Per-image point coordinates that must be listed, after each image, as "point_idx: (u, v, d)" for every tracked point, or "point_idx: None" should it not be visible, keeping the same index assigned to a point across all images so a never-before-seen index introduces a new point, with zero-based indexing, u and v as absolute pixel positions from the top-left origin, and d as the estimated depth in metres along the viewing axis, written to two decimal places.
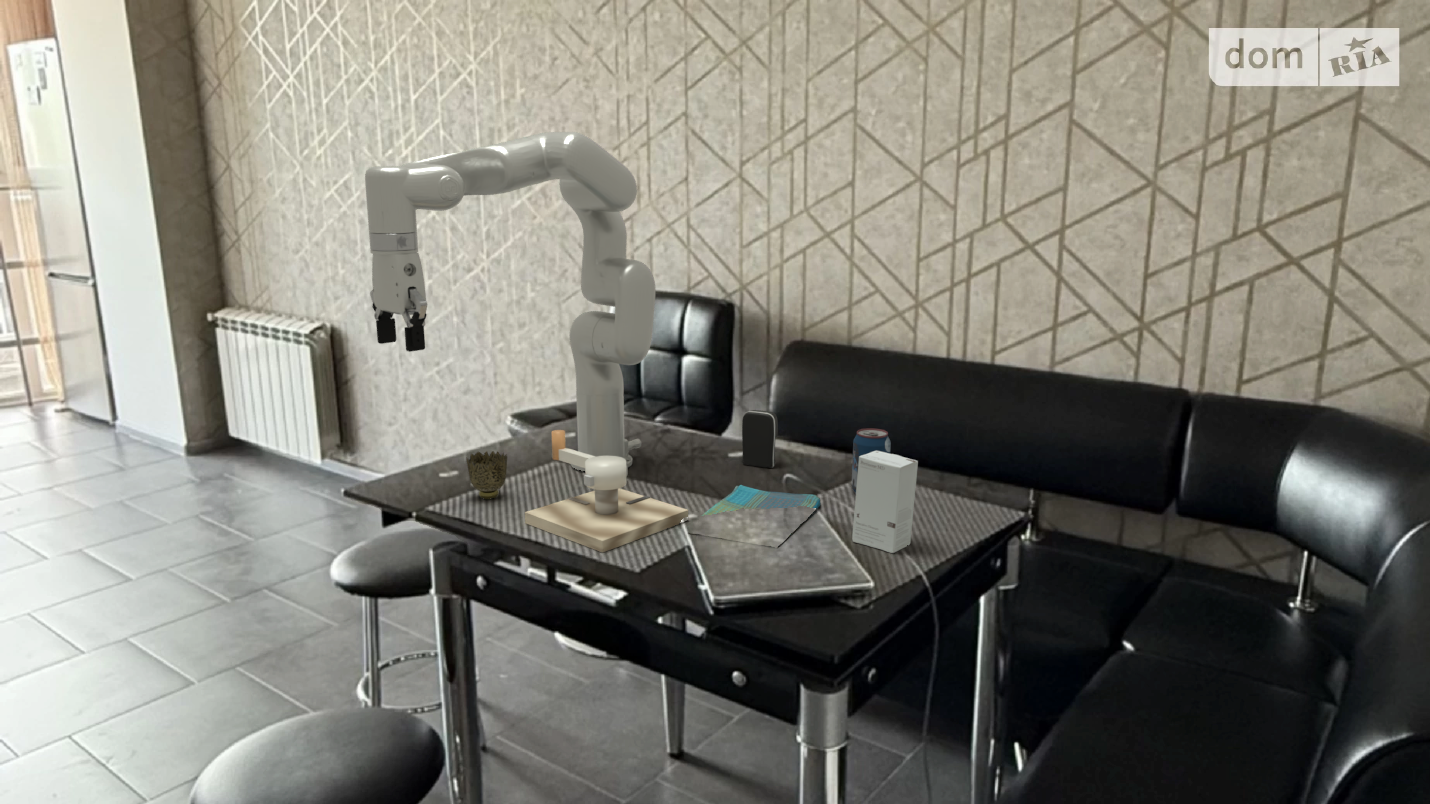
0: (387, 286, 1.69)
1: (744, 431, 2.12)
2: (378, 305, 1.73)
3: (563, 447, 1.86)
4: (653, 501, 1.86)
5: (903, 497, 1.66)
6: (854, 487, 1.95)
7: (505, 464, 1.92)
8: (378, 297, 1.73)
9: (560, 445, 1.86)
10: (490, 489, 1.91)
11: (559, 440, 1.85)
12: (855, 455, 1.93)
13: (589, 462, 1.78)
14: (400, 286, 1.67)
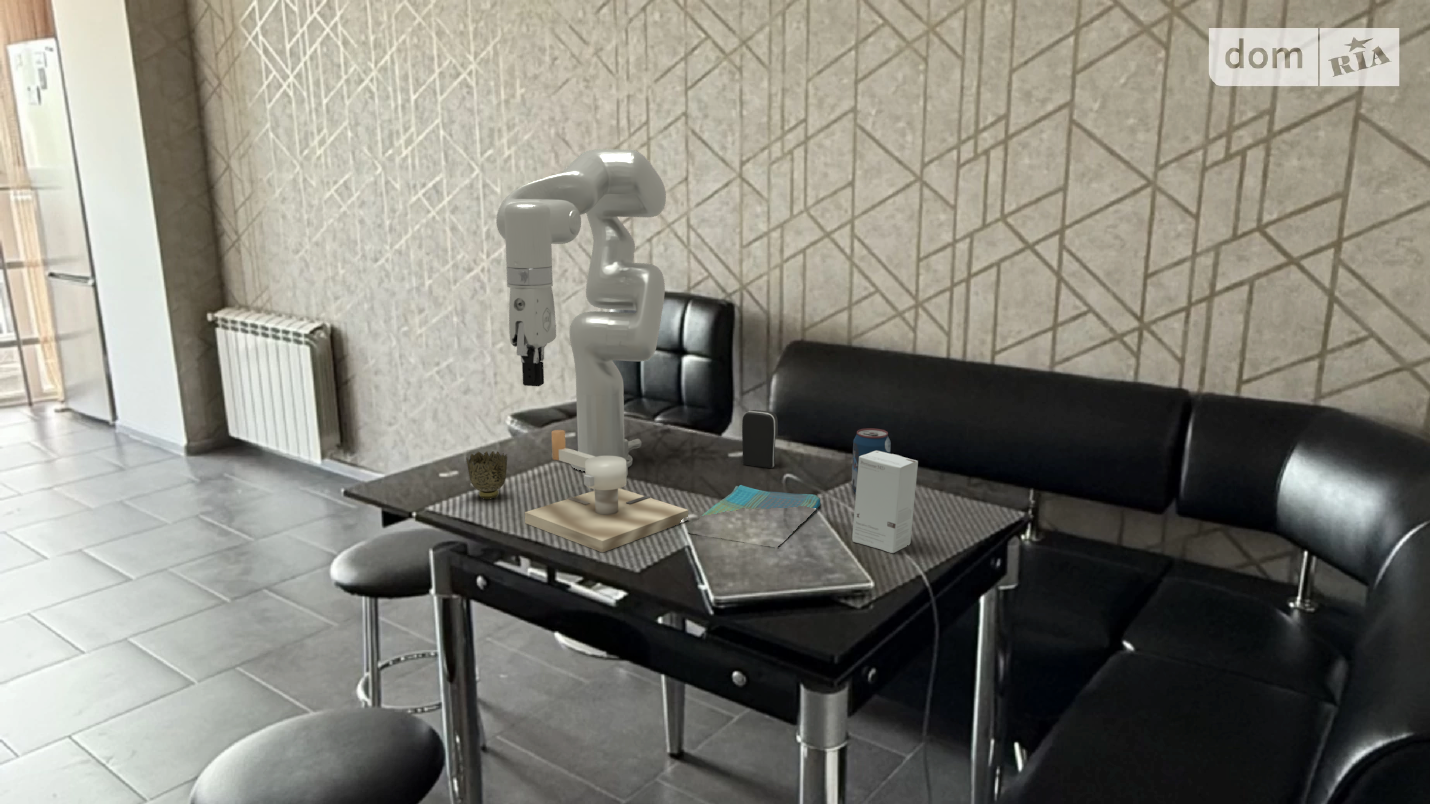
0: None
1: (744, 431, 2.12)
2: None
3: (563, 447, 1.86)
4: (653, 501, 1.86)
5: (903, 497, 1.66)
6: (854, 487, 1.95)
7: (505, 464, 1.92)
8: None
9: (560, 445, 1.86)
10: (490, 489, 1.91)
11: (559, 440, 1.85)
12: (855, 455, 1.93)
13: (589, 462, 1.78)
14: (509, 319, 1.71)
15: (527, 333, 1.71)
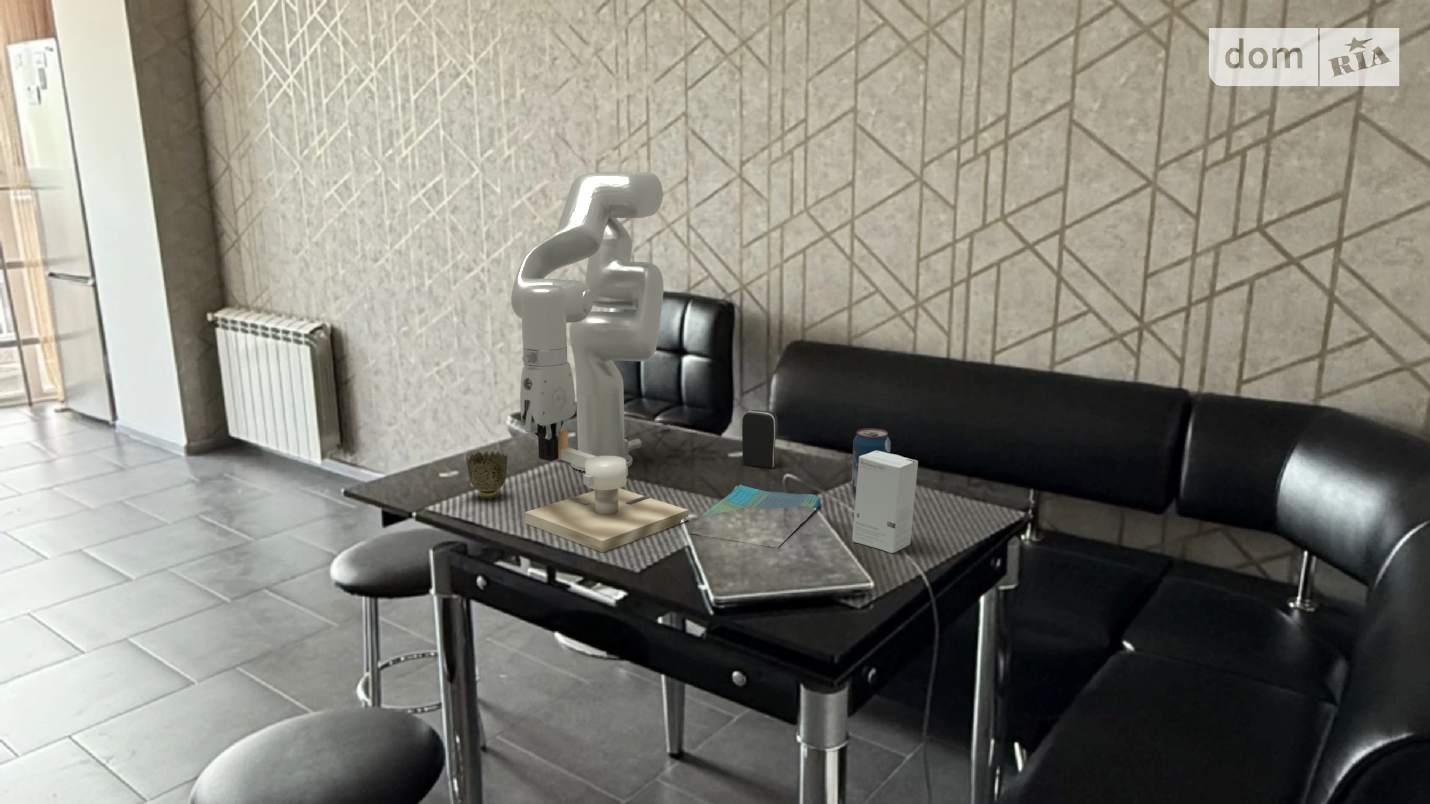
0: None
1: (744, 431, 2.12)
2: None
3: (565, 446, 1.86)
4: (653, 501, 1.86)
5: (903, 497, 1.66)
6: (854, 487, 1.95)
7: (505, 464, 1.92)
8: None
9: (562, 445, 1.86)
10: (490, 489, 1.91)
11: (561, 440, 1.86)
12: (855, 455, 1.93)
13: (589, 462, 1.78)
14: (520, 397, 1.78)
15: (533, 412, 1.77)
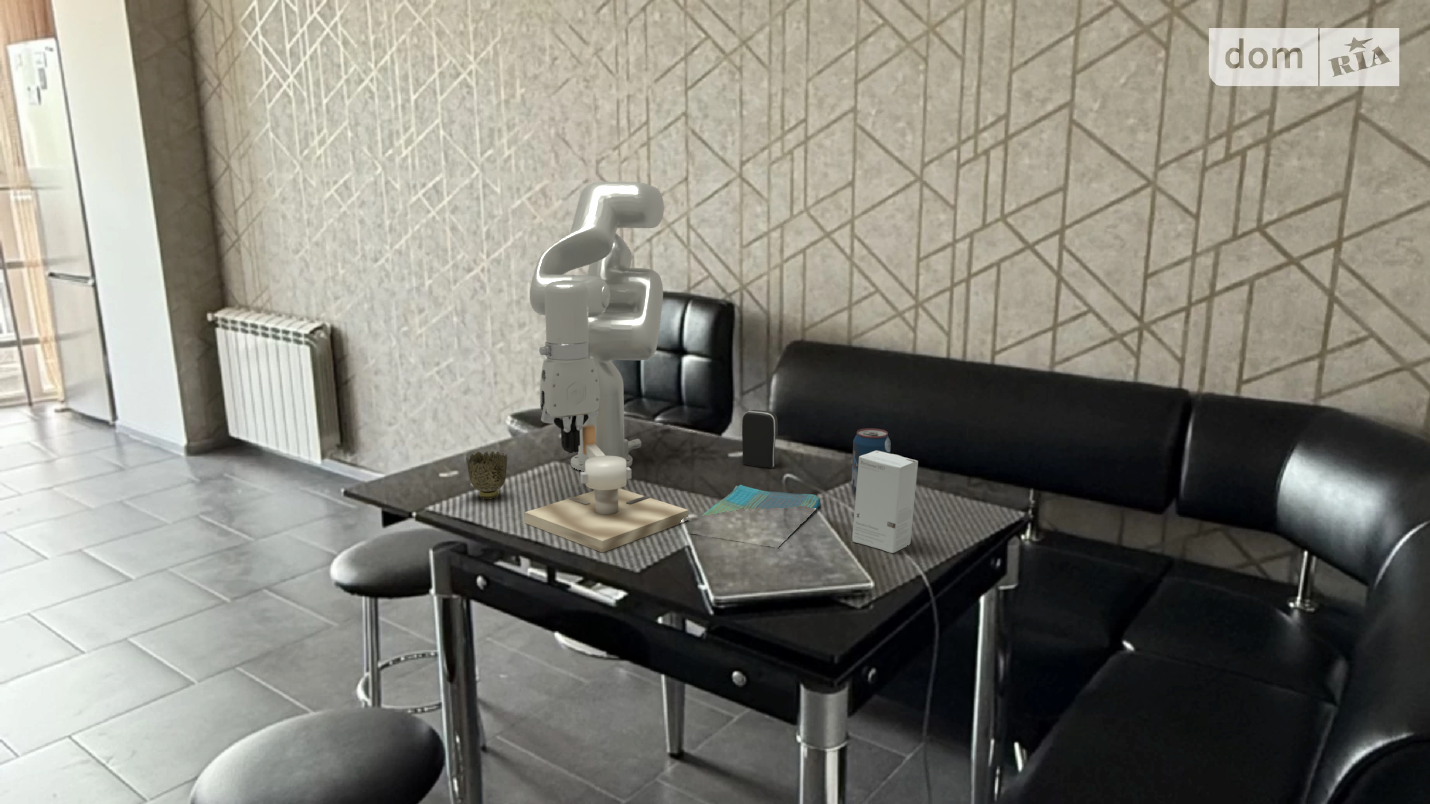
0: None
1: (744, 431, 2.12)
2: None
3: (591, 442, 1.89)
4: (653, 501, 1.86)
5: (903, 497, 1.66)
6: (854, 487, 1.95)
7: (505, 464, 1.92)
8: None
9: (587, 440, 1.89)
10: (490, 489, 1.91)
11: (587, 435, 1.89)
12: (855, 455, 1.93)
13: (590, 460, 1.79)
14: (540, 387, 1.84)
15: (546, 403, 1.82)
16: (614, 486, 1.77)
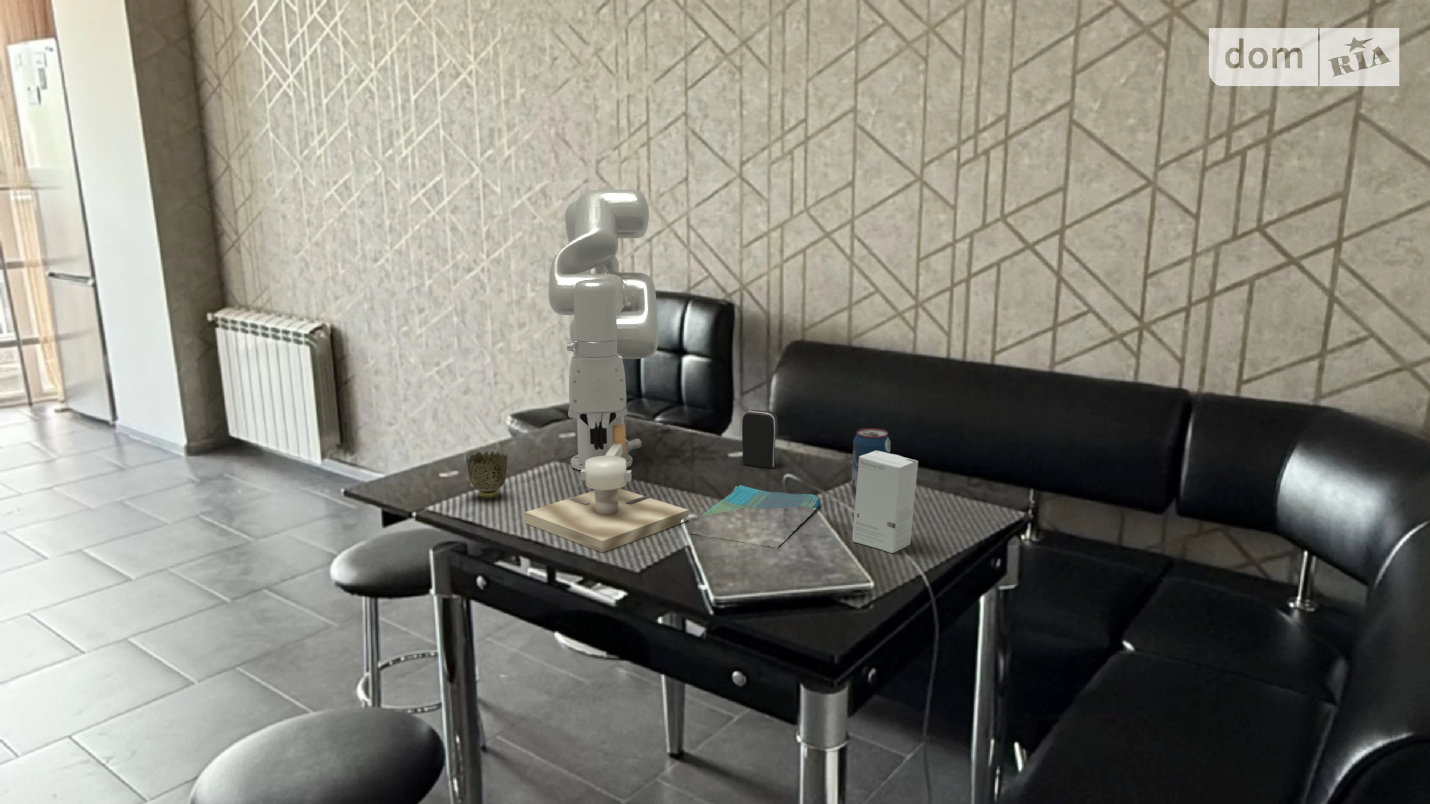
0: None
1: (744, 431, 2.12)
2: None
3: (618, 442, 1.90)
4: (653, 501, 1.86)
5: (903, 497, 1.66)
6: (854, 487, 1.95)
7: (505, 464, 1.92)
8: None
9: (614, 439, 1.90)
10: (490, 489, 1.91)
11: (614, 434, 1.89)
12: (855, 455, 1.93)
13: (594, 458, 1.80)
14: None
15: (569, 398, 1.86)
16: (605, 487, 1.76)
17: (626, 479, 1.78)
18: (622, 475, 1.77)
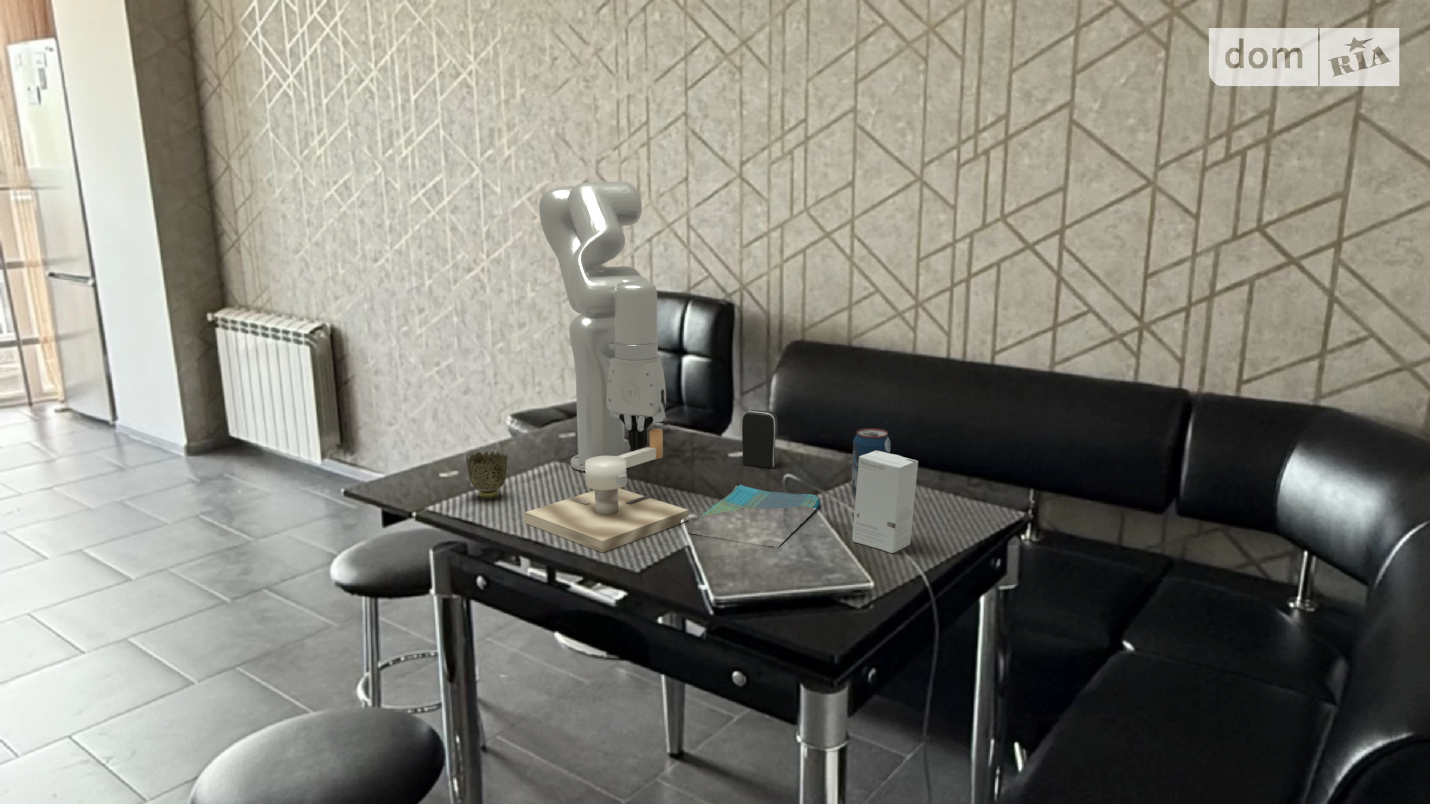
0: None
1: (744, 431, 2.12)
2: None
3: (652, 446, 1.87)
4: (653, 501, 1.86)
5: (903, 497, 1.66)
6: (854, 487, 1.95)
7: (505, 464, 1.92)
8: None
9: (649, 443, 1.87)
10: (490, 489, 1.91)
11: (649, 438, 1.87)
12: (855, 455, 1.93)
13: (602, 456, 1.81)
14: None
15: None
16: (593, 486, 1.77)
17: (617, 482, 1.76)
18: (612, 478, 1.76)
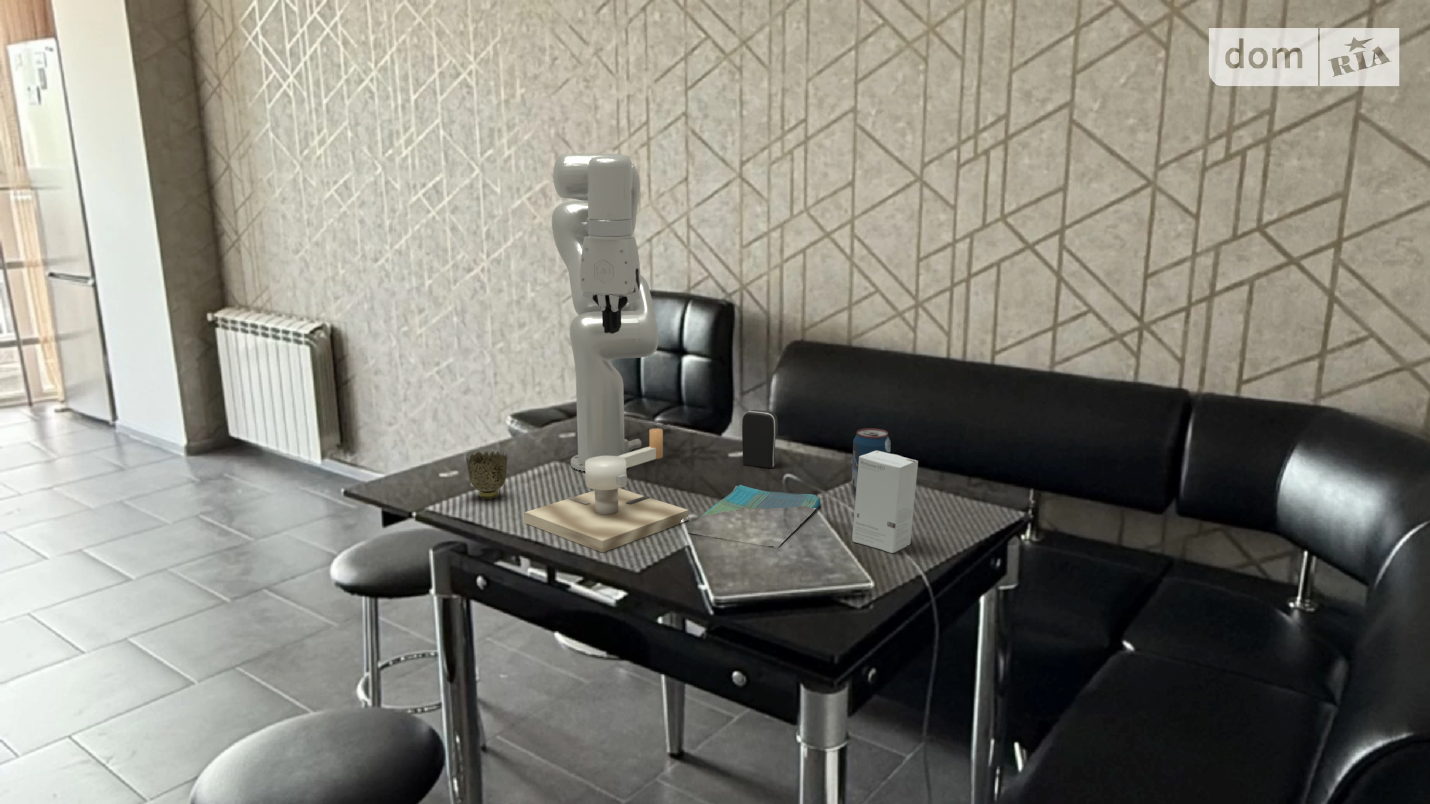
0: None
1: (744, 431, 2.12)
2: None
3: (652, 446, 1.87)
4: (653, 501, 1.86)
5: (903, 497, 1.66)
6: (854, 487, 1.95)
7: (505, 464, 1.92)
8: None
9: (649, 443, 1.87)
10: (490, 489, 1.91)
11: (649, 438, 1.87)
12: (855, 455, 1.93)
13: (602, 456, 1.81)
14: None
15: None
16: (593, 486, 1.77)
17: (617, 482, 1.76)
18: (612, 478, 1.76)
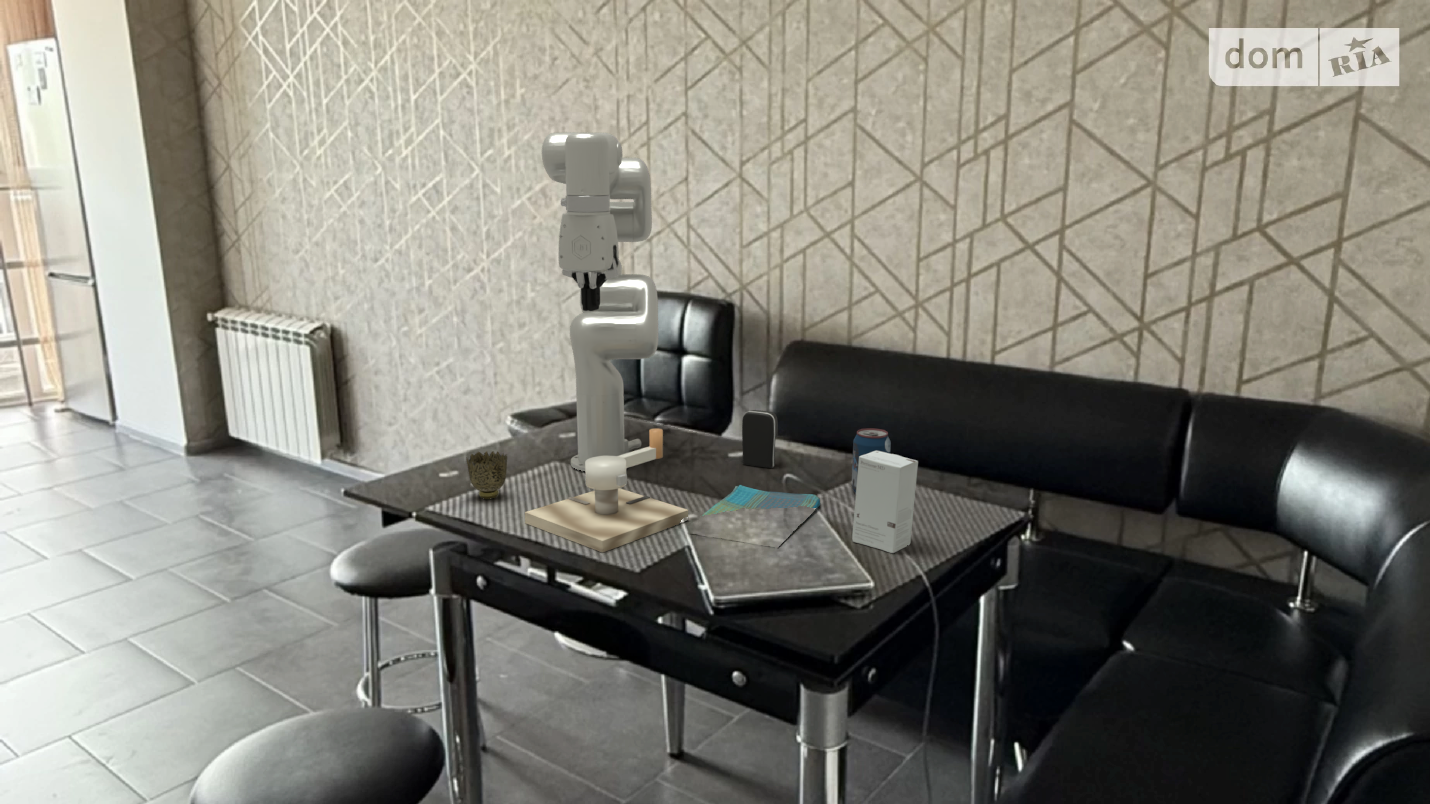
0: None
1: (744, 431, 2.12)
2: None
3: (652, 446, 1.87)
4: (653, 501, 1.86)
5: (903, 497, 1.66)
6: (854, 487, 1.95)
7: (505, 464, 1.92)
8: None
9: (649, 443, 1.87)
10: (490, 489, 1.91)
11: (649, 438, 1.87)
12: (855, 455, 1.93)
13: (602, 456, 1.81)
14: None
15: None
16: (593, 486, 1.77)
17: (617, 482, 1.76)
18: (612, 478, 1.76)
